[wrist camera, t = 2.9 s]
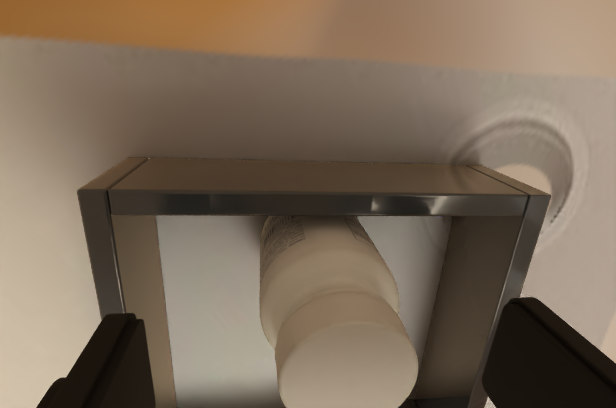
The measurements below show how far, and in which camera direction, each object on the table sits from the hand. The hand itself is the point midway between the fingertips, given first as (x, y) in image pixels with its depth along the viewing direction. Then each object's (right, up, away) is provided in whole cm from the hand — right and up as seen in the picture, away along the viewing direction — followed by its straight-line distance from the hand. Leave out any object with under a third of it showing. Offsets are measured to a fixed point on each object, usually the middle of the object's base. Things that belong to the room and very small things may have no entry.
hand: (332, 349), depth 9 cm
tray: (-1, -1, +8) cm, 8 cm away
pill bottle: (-1, +2, +7) cm, 7 cm away
